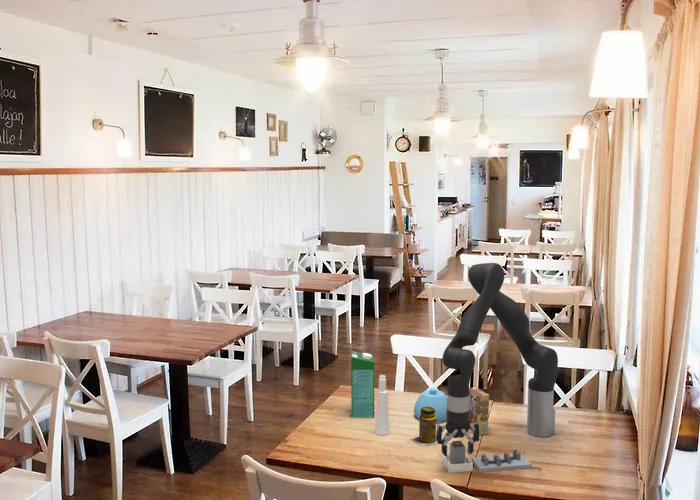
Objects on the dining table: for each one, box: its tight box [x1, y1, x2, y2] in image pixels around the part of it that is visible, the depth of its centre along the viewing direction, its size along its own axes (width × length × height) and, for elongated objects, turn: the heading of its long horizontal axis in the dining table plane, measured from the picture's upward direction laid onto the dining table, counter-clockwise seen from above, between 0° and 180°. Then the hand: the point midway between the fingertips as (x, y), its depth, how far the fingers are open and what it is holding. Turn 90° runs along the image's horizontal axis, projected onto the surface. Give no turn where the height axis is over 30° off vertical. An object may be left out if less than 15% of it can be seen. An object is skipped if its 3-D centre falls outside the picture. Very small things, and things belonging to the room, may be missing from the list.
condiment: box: [410, 407, 438, 447], centre depth 243 cm, size 7×8×12 cm
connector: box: [449, 440, 466, 464], centre depth 223 cm, size 4×4×8 cm
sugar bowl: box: [413, 387, 447, 424], centre depth 266 cm, size 15×15×12 cm
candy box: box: [469, 387, 490, 436], centre depth 252 cm, size 9×4×15 cm, turn 20°
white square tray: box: [441, 453, 474, 474], centre depth 223 cm, size 8×8×3 cm
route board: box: [471, 448, 532, 473], centre depth 224 cm, size 18×8×4 cm, turn 99°
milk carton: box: [350, 350, 375, 418], centre depth 269 cm, size 9×9×25 cm
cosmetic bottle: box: [374, 374, 391, 436], centre depth 251 cm, size 6×6×22 cm
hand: (457, 454), depth 223 cm, fingers open, 8 cm apart
